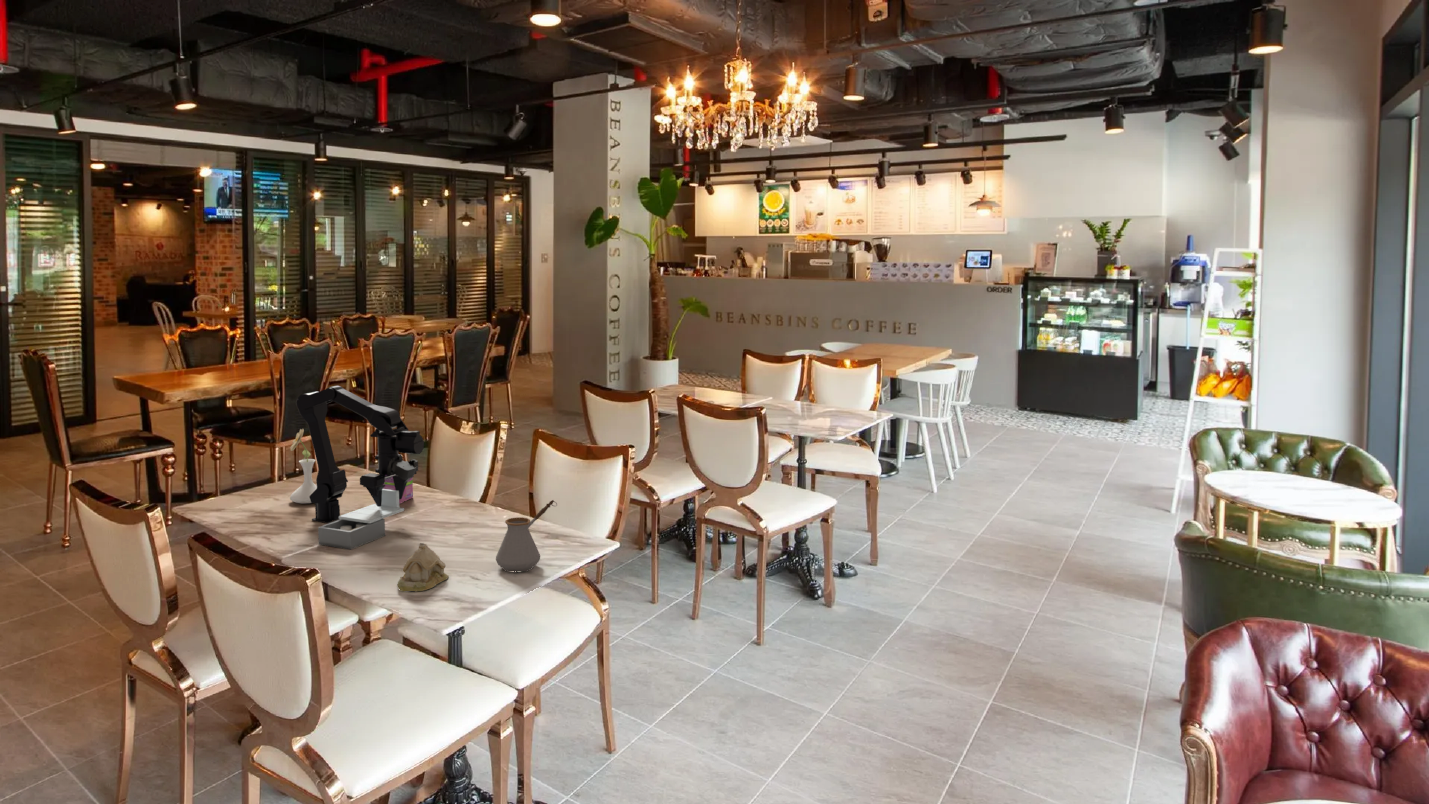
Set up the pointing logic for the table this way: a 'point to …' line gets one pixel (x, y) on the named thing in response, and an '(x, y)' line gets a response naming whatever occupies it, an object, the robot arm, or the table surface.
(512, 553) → the coffee pot
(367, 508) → the lid
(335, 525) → the tub
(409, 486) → the box
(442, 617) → the table surface
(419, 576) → the ceramic model
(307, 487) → the flower in vase
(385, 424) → the robot arm
